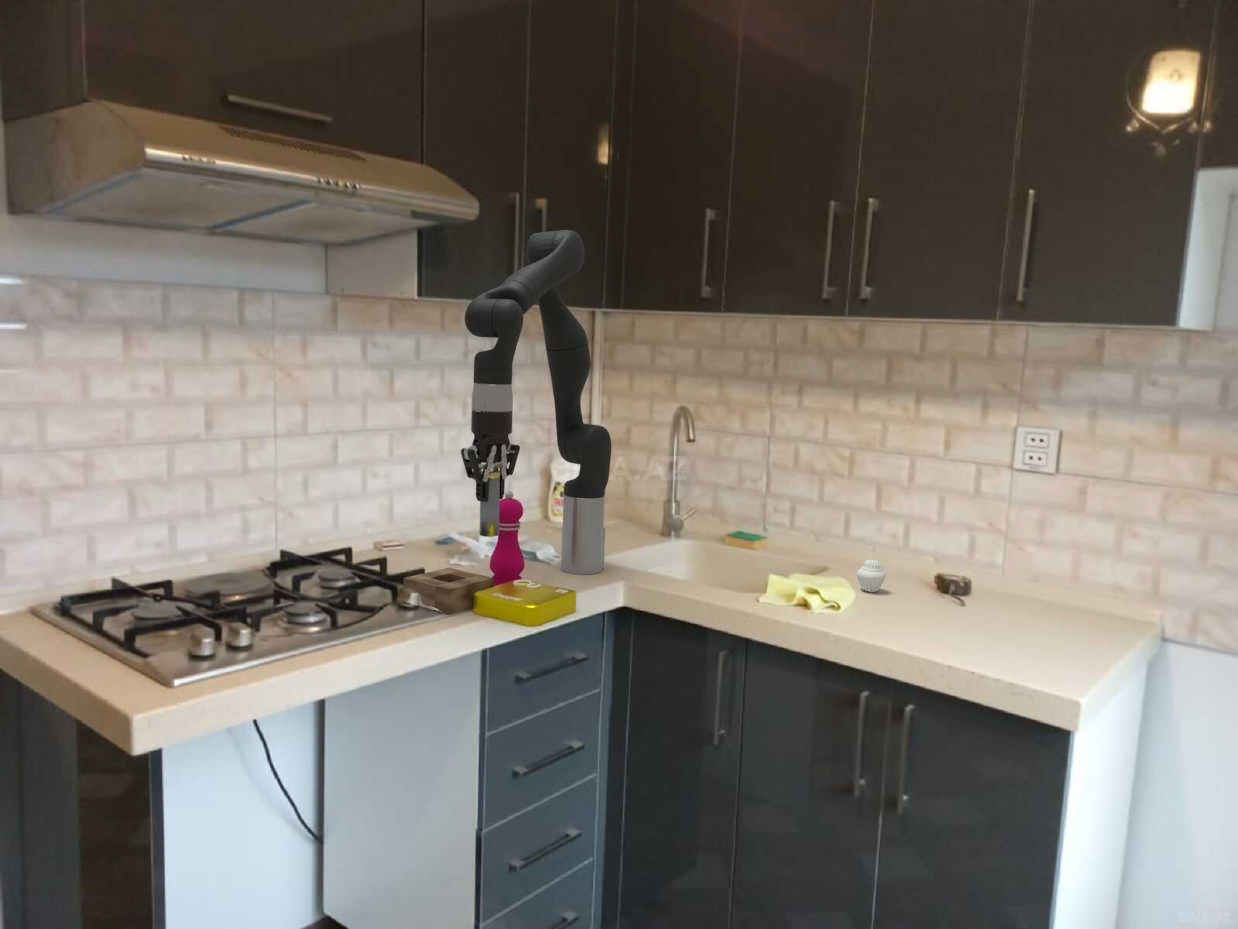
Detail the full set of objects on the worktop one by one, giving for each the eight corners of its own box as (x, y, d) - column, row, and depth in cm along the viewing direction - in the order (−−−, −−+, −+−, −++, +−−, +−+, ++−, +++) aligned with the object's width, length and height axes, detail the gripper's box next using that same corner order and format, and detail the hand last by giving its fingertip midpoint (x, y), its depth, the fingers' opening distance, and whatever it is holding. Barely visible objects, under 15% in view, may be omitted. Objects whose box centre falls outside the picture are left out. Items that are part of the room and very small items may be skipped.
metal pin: (488, 532, 180) (490, 469, 178) (502, 534, 178) (504, 471, 176) (475, 534, 177) (476, 471, 175) (489, 537, 175) (490, 473, 173)
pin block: (448, 591, 190) (448, 567, 189) (492, 603, 183) (493, 577, 183) (403, 603, 180) (403, 578, 179) (448, 616, 173) (448, 589, 173)
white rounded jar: (879, 587, 210) (881, 556, 209) (888, 594, 203) (891, 562, 203) (851, 586, 209) (854, 555, 208) (860, 593, 203) (862, 561, 202)
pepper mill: (482, 586, 195) (484, 490, 193) (502, 579, 202) (504, 487, 199) (511, 591, 192) (514, 494, 190) (530, 584, 198) (533, 490, 196)
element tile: (468, 615, 176) (468, 590, 175) (517, 599, 188) (518, 575, 188) (533, 631, 168) (534, 605, 167) (579, 613, 181) (580, 588, 180)
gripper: (503, 405, 182) (501, 493, 184) (449, 407, 171) (448, 501, 173) (532, 408, 178) (530, 498, 180) (479, 411, 166) (477, 507, 169)
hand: (490, 499), depth 176 cm, fingers closed on metal pin, 3 cm apart
